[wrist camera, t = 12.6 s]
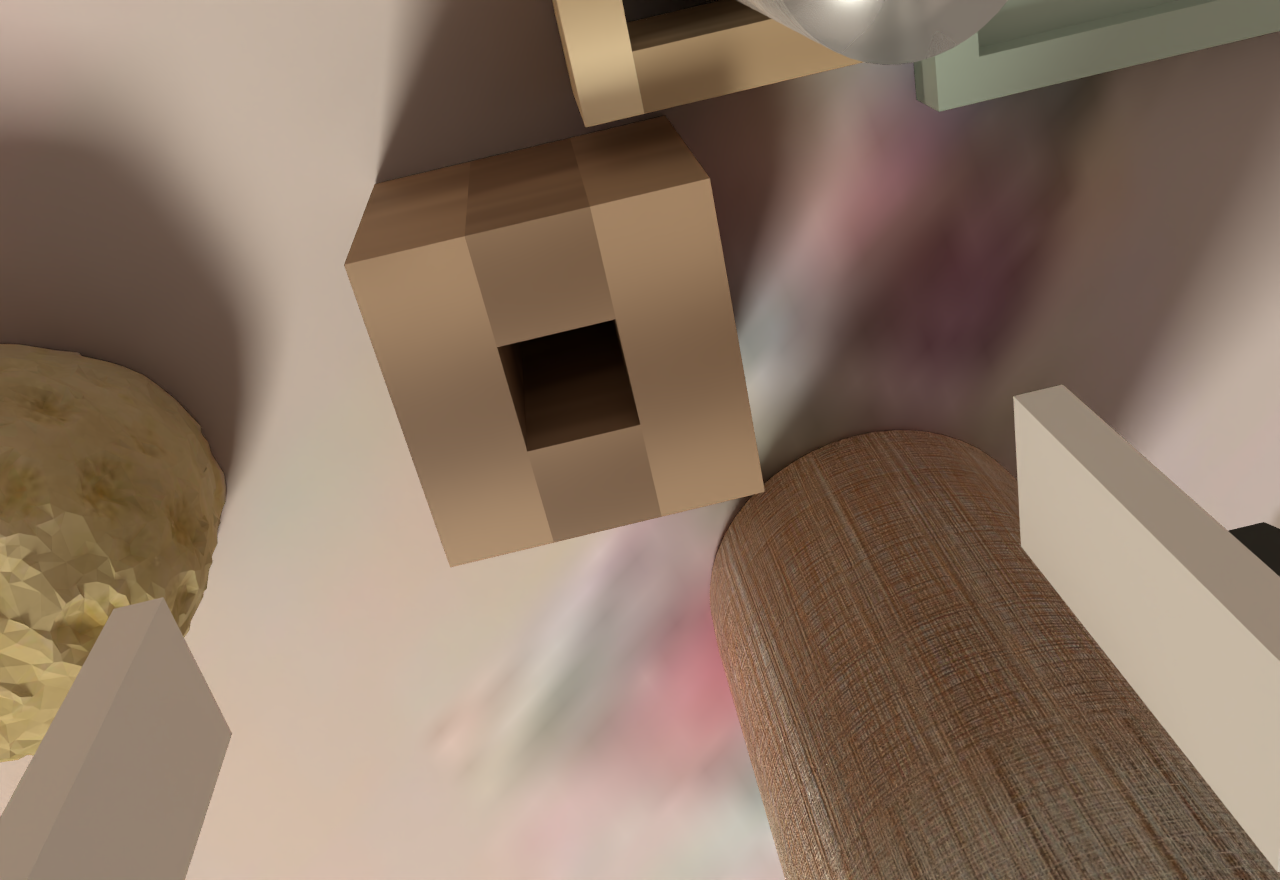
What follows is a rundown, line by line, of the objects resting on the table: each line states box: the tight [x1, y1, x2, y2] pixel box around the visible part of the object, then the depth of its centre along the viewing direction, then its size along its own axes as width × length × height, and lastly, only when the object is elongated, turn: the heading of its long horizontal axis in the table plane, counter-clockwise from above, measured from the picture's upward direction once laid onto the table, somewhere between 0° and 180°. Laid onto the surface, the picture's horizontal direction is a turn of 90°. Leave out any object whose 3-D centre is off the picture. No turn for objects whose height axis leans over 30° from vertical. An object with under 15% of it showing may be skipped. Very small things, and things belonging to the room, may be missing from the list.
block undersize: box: [344, 116, 765, 567], centre depth 25 cm, size 7×7×6 cm
